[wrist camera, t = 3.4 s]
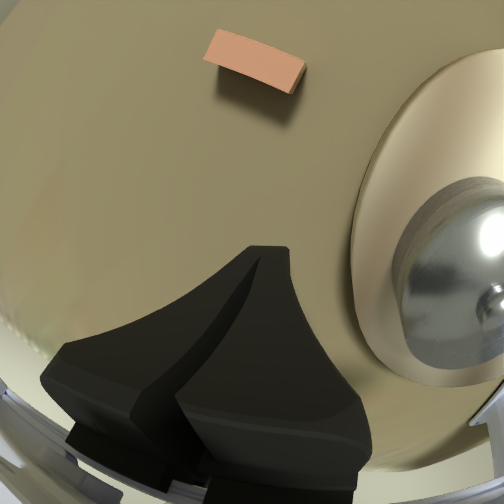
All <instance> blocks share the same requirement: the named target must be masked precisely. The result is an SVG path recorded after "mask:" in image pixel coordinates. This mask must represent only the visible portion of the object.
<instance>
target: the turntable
mask: <svg viewBox="0 0 504 504" xmlns="http://www.w3.org/2000/svg"><path fill="white" fill-rule="evenodd" d="M477 176H483V177H491V178H495V179H498V180H500V181H502V182H504V49H498V50H490V51H483V52H479V53H475V54H471V55H468V56H464V57H461V58H459V59H457V60H455V61H454V62H452V63H450V64H448V65H446V66H444V67H442V68H441V69H439V70H438V71H437V72H436V73H434V74H433V75H432V76H431V77H429V78H428V79H427V80H426V81H424V82H423V83H422V84H421V85H420V86H419V87H418V88H417V89H416V90H415V92H414V93H413V94H412V95H411V96H410V97H409V98H408V99H407V100H406V102H405V103H404V104H403V105H402V106H401V108H400V109H399V111H398V112H397V114H396V115H395V117H394V118H393V120H392V121H391V123H390V124H389V126H388V127H387V129H386V130H385V132H384V134H383V136H382V138H381V140H380V142H379V144H378V146H377V148H376V150H375V152H374V154H373V156H372V158H371V161H370V164H369V166H368V169H367V172H366V174H365V177H364V180H363V182H362V185H361V189H360V193H359V197H358V201H357V205H356V209H355V212H354V219H353V227H352V234H351V258H350V265H351V274H352V284H353V293H354V303H355V310H356V314H357V318H358V322H359V325H360V329H361V331H362V333H363V335H364V337H365V339H366V342H367V344H368V345H369V347H370V348H371V349H372V351H373V352H374V354H375V355H376V357H377V358H378V359H379V360H380V361H381V362H382V363H383V364H384V365H386V366H387V367H388V368H389V369H391V370H392V371H393V372H395V373H396V374H398V375H399V376H402V377H404V378H406V379H408V380H410V381H413V382H416V383H420V384H423V385H428V386H435V387H462V386H469V385H474V384H479V383H483V382H486V381H489V380H493V379H496V378H498V377H500V376H503V375H504V353H503V354H501V355H499V356H497V357H496V358H494V359H492V360H489V361H487V362H485V363H482V364H479V365H477V366H473V367H469V368H464V369H455V370H446V369H438V368H434V367H431V366H428V365H426V364H424V363H422V362H420V361H419V360H418V359H417V358H415V357H414V355H413V354H412V353H411V352H410V350H409V348H408V346H407V344H406V341H405V337H404V333H403V328H402V324H401V320H400V315H399V311H398V307H397V303H396V299H395V295H394V291H393V286H392V272H391V271H392V262H393V257H394V253H395V249H396V247H397V244H398V241H399V239H400V237H401V235H402V233H403V231H404V229H405V227H406V226H407V224H408V222H409V221H410V219H411V218H412V216H413V215H414V214H415V213H416V211H417V210H418V209H419V208H420V207H421V206H422V205H423V204H424V203H425V202H426V201H427V200H428V199H429V198H430V197H431V196H433V195H434V194H435V193H436V192H438V191H439V190H441V189H442V188H444V187H446V186H447V185H449V184H451V183H454V182H456V181H458V180H461V179H465V178H469V177H477Z"/></svg>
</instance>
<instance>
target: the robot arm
mask: <svg viewBox="0 0 504 504" xmlns="http://www.w3.org/2000/svg"><path fill="white" fill-rule="evenodd" d="M40 382H41V385H42V386H43V388H44V389H45V391H46V392H47V393H48V394H49V395H50V397H51V398H52V399H53V400H54V401H55V402H56V403H57V404H58V405H59V406H60V407H61V408H62V409H63V410H64V411H65V412H66V413H67V414H68V415H69V416H70V417H71V418H72V419H73V420H74V421H75V422H76V423H75V424H74V426H73V428H72V429H71V431H70V432H69V431H68V430H66V429H65V428H63V427H61V426H60V425H58V424H57V423H55V422H54V421H52V420H51V419H49V418H48V417H46V416H45V415H43V414H42V413H40V412H39V411H38V410H36V409H35V408H33V407H32V406H31V405H29V404H28V403H27V402H25V401H24V400H23V399H21V398H20V397H19V396H18V395H16V394H15V393H14V392H13V391H11V390H10V389H9V388H8V387H7V385H6V384H5V383H4V382H3V381H2V379H1V378H0V504H120V501H121V499H122V497H123V492H122V491H120V490H118V489H116V488H114V487H113V486H110V485H109V484H107V483H105V482H103V481H101V480H100V479H98V478H96V477H95V476H93V475H91V474H90V473H88V472H86V471H85V470H83V469H81V468H80V467H79V466H78V461H77V459H79V460H81V461H82V462H84V463H86V464H87V465H89V466H91V467H93V468H95V469H96V470H98V471H100V472H102V473H104V474H106V475H108V476H109V477H111V478H113V479H115V480H117V481H119V482H121V483H123V484H126V485H128V486H130V487H132V488H134V489H136V490H139V491H141V492H143V493H146V494H148V495H151V496H153V497H156V498H158V499H161V500H163V501H166V502H169V503H172V504H352V502H353V493H354V491H355V490H356V487H357V480H358V472H359V471H360V470H361V469H362V468H363V466H364V465H365V464H366V463H367V462H368V461H369V459H370V457H371V455H372V439H371V432H370V427H369V423H368V420H367V416H366V413H365V410H364V407H363V404H362V401H361V398H360V397H359V395H358V394H357V393H356V392H355V391H354V390H353V388H352V387H351V386H350V385H349V384H348V382H347V381H346V380H345V379H344V377H343V376H342V375H341V374H340V372H339V371H338V370H337V368H336V367H335V365H334V364H333V363H332V361H331V360H330V359H329V357H328V356H327V354H326V352H325V351H324V349H323V348H322V346H321V344H320V343H319V341H318V340H317V338H316V336H315V335H314V333H313V331H312V329H311V327H310V325H309V324H308V322H307V320H306V317H305V315H304V313H303V311H302V309H301V306H300V304H299V301H298V299H297V296H296V293H295V290H294V287H293V284H292V280H291V276H290V255H289V249H288V248H287V247H286V246H249V247H247V248H246V249H245V250H244V251H242V252H241V253H240V254H239V255H238V256H236V257H235V258H234V259H233V260H232V261H230V262H229V263H228V264H227V265H225V266H224V267H223V268H222V269H220V270H219V271H218V272H217V273H215V274H214V275H213V276H211V277H210V278H209V279H207V280H206V281H204V282H203V283H202V284H200V285H199V286H197V287H196V288H195V289H193V290H192V291H190V292H189V293H187V294H186V295H184V296H182V297H181V298H179V299H177V300H176V301H174V302H172V303H171V304H169V305H167V306H165V307H163V308H161V309H159V310H157V311H155V312H153V313H151V314H149V315H147V316H145V317H143V318H141V319H138V320H136V321H134V322H132V323H129V324H127V325H124V326H122V327H119V328H116V329H113V330H110V331H108V332H105V333H102V334H98V335H95V336H91V337H88V338H84V339H80V340H76V341H73V342H68V343H65V344H64V345H63V346H62V347H61V348H60V350H59V351H58V352H57V354H56V355H55V356H54V358H53V359H52V360H51V362H50V363H49V364H48V366H47V367H46V369H45V370H44V371H43V373H42V374H41V376H40ZM483 423H487V426H488V432H489V438H490V443H491V451H492V457H493V466H494V478H495V479H493V480H490V481H488V482H485V483H482V484H479V485H476V486H473V487H469V488H466V489H463V490H459V491H455V492H452V493H447V494H443V495H439V496H434V497H429V498H425V499H419V500H413V501H407V502H400V503H391V504H504V383H503V384H502V385H501V387H500V388H499V389H498V390H497V392H496V393H495V394H494V395H493V396H492V398H491V399H490V400H489V401H488V402H487V403H486V405H485V406H484V407H483V408H482V409H481V410H480V411H479V412H478V413H477V414H476V415H475V417H474V418H473V419H472V420H471V421H470V422H469V425H470V426H474V425H479V424H483ZM193 485H194V486H193ZM196 486H198V487H196ZM199 487H201V488H199ZM203 488H206V489H203Z"/></svg>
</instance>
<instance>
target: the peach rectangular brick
mask: <svg viewBox="0 0 504 504" xmlns="http://www.w3.org/2000/svg"><path fill="white" fill-rule="evenodd" d="M203 60H206V61H209V62H212V63H215V64H218V65H220V66H223V67H226V68H229V69H232V70H234V71H237V72H239V73H242V74H245V75H247V76H250V77H252V78H254V79H257V80H259V81H262V82H264V83H266V84H269V85H271V86H273V87H275V88H278V89H280V90H282V91H284V92H286V93H288V94H293V92H294V90H295V88H296V86H297V84H298V83H299V81H300V79H301V77H302V75H303V73H304V71H305V69H306V67H307V65H306V62H305V61H303V60H301V59H299V58H297V57H294V56H292V55H290V54H287V53H285V52H283V51H280V50H278V49H275V48H273V47H270V46H268V45H265V44H262V43H260V42H257V41H254V40H251V39H249V38H246V37H243V36H240V35H237V34H234V33H230V32H227V31H224V30H220V29H217V31H216V33H215V35H214V37H213V40H212V42H211V44H210V46H209V48H208V50H207V52H206V55H205V57H204V59H203Z"/></svg>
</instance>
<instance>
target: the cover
mask: <svg viewBox="0 0 504 504" xmlns="http://www.w3.org/2000/svg"><path fill="white" fill-rule="evenodd" d="M391 272H392V286H393V291H394V295H395V299H396V303H397V307H398V311H399V315H400V320H401V324H402V328H403V333H404V337H405V341H406V344H407V346H408V348H409V350H410V352H411V353H412V354H413V355H414V357H415V358H417V359H418V360H419V361H420V362H422V363H424V364H426V365H428V366H431V367H434V368H438V369H446V370H455V369H464V368H469V367H473V366H477V365H479V364H482V363H485V362H487V361H489V360H492V359H494V358H496V357H497V356H499V355H501V354H503V353H504V182H502V181H500V180H498V179H495V178H491V177H483V176H477V177H469V178H465V179H461V180H458V181H456V182H454V183H451V184H449V185H447V186H446V187H444V188H442V189H441V190H439V191H438V192H436V193H435V194H434V195H433V196H431V197H430V198H429V199H428V200H427V201H426V202H425V203H424V204H423V205H422V206H421V207H420V208H419V209H418V210H417V211H416V213H415V214H414V215H413V216H412V218H411V219H410V221H409V222H408V224H407V226H406V227H405V229H404V231H403V233H402V235H401V237H400V239H399V241H398V244H397V247H396V249H395V253H394V257H393V262H392V271H391Z"/></svg>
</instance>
